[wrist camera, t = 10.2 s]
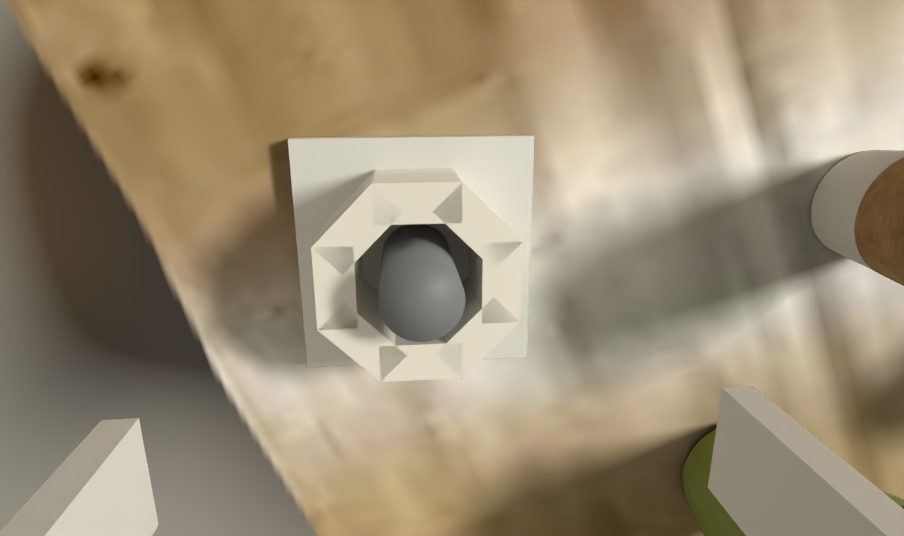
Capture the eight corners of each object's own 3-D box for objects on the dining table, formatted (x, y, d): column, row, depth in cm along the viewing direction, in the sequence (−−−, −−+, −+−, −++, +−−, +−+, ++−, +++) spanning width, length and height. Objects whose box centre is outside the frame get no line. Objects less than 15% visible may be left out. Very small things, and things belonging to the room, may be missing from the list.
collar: (321, 169, 28) (306, 184, 23) (503, 167, 29) (524, 180, 24) (333, 340, 31) (321, 384, 26) (500, 333, 31) (518, 375, 27)
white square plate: (291, 137, 28) (253, 151, 21) (529, 134, 30) (576, 147, 22) (309, 359, 32) (282, 441, 24) (523, 349, 33) (561, 425, 25)
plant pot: (626, 541, 38) (719, 718, 27) (670, 377, 34) (796, 505, 24) (790, 549, 39) (940, 720, 28) (847, 393, 36) (1041, 519, 25)
